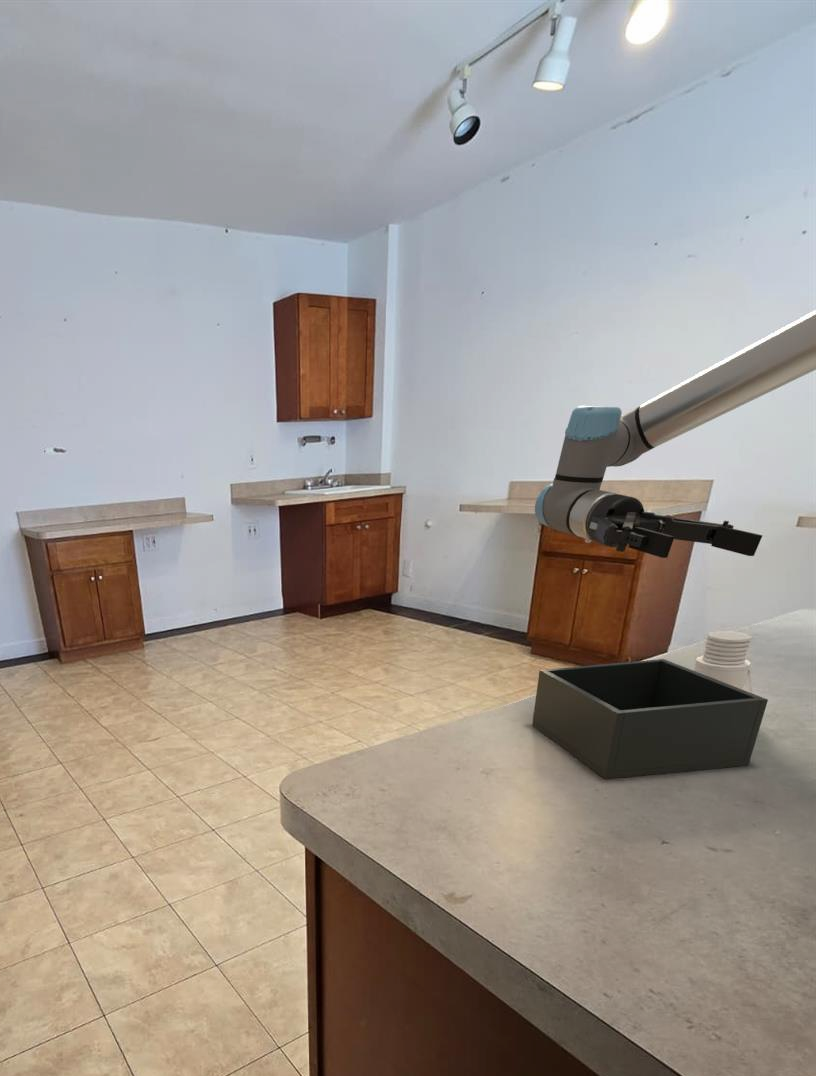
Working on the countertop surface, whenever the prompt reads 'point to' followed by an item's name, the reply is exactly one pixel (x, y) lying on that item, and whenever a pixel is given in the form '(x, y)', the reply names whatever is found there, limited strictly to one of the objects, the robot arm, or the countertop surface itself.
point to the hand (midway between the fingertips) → (713, 546)
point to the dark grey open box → (647, 718)
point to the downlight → (726, 658)
